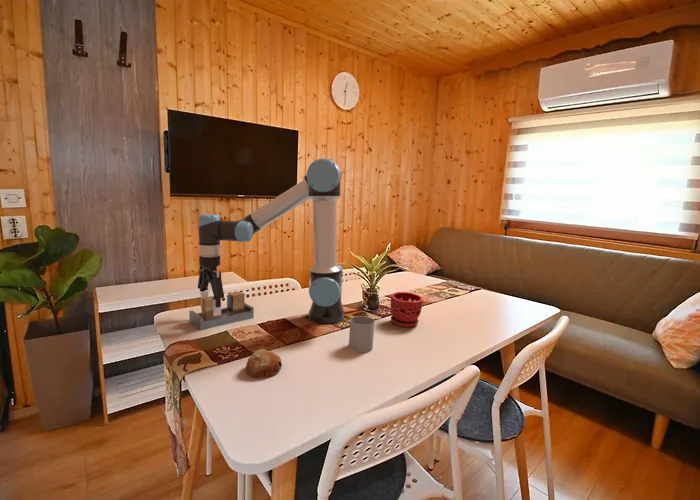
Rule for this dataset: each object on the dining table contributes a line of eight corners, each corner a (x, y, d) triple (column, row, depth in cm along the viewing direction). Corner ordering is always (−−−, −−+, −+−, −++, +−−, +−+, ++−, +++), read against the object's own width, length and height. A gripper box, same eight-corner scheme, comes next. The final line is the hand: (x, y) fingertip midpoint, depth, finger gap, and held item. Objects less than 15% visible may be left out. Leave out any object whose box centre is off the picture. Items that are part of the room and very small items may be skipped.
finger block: (220, 317, 142) (220, 297, 141) (206, 320, 138) (205, 300, 137) (216, 314, 145) (216, 295, 144) (201, 317, 141) (201, 297, 140)
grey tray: (253, 317, 149) (253, 294, 148) (200, 330, 134) (199, 304, 132) (241, 311, 156) (241, 288, 155) (189, 322, 141) (189, 297, 139)
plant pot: (382, 322, 152) (384, 295, 150) (400, 316, 162) (403, 290, 160) (409, 332, 143) (411, 303, 142) (426, 324, 153) (429, 297, 151)
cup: (370, 354, 122) (372, 326, 120) (346, 350, 124) (348, 322, 122) (374, 344, 130) (375, 317, 128) (351, 341, 132) (353, 314, 130)
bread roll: (255, 373, 113) (244, 351, 111) (286, 360, 113) (275, 338, 111) (249, 390, 103) (237, 366, 101) (283, 376, 103) (271, 352, 102)
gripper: (233, 259, 132) (233, 317, 135) (206, 250, 148) (207, 301, 152) (213, 261, 126) (214, 321, 130) (187, 251, 143) (189, 305, 146)
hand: (210, 311), depth 141 cm, fingers open, 11 cm apart
